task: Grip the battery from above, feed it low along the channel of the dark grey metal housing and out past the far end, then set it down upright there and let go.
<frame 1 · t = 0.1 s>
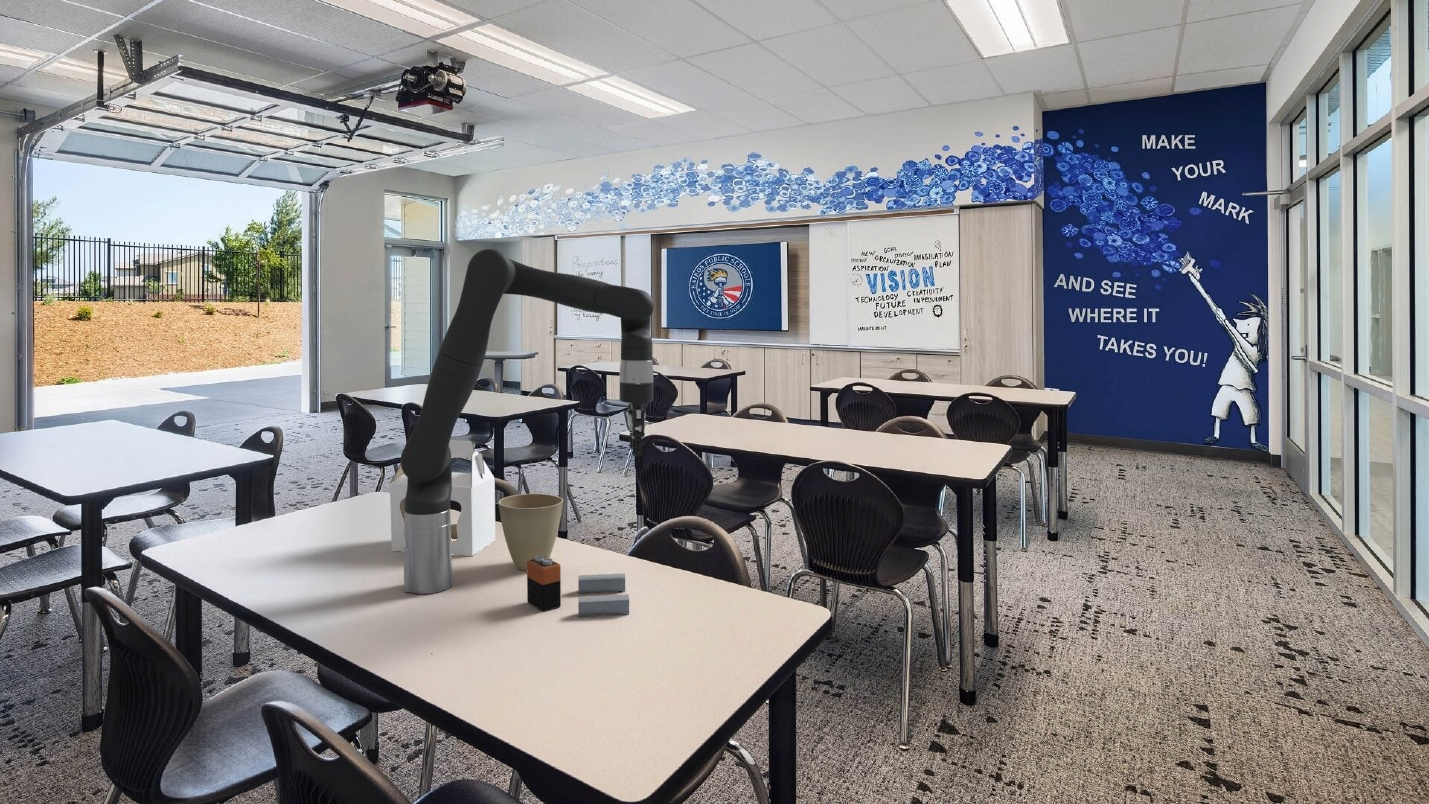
hand: (636, 452, 170), 29 cm above the table, tool pointing down, fingers open, 8 cm apart
housing: (602, 601, 157), on the table
plant pot: (531, 566, 180), on the table
battery: (543, 606, 155), on the table
gable box: (444, 547, 195), on the table
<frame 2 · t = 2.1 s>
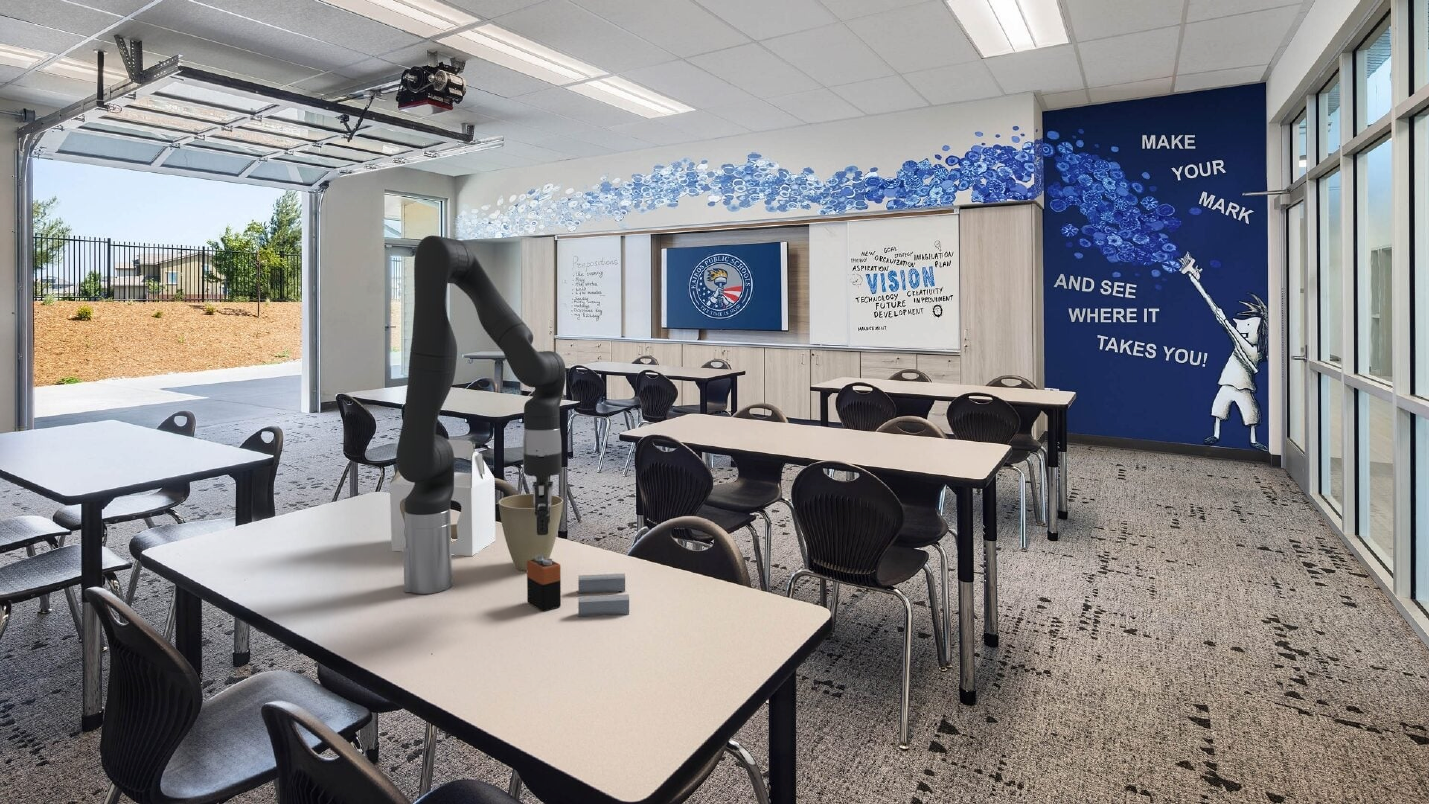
hand: (543, 528, 154), 16 cm above the table, tool pointing down, fingers open, 8 cm apart
nothing on the table moved.
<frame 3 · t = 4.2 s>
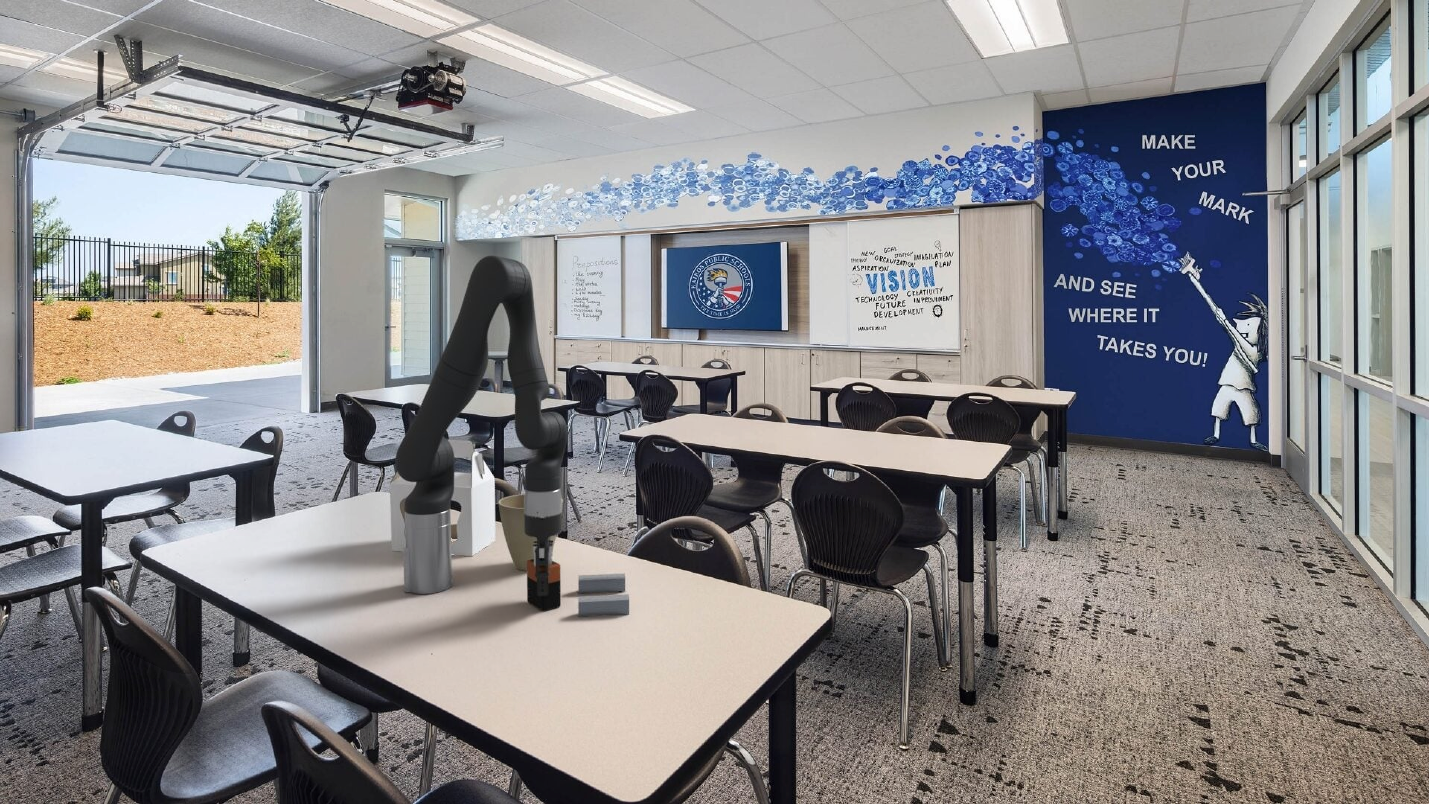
hand: (543, 588, 155), 4 cm above the table, tool pointing down, fingers closed on battery, 8 cm apart
battery: (543, 605, 155), on the table, touching gripper
everything else where it was.
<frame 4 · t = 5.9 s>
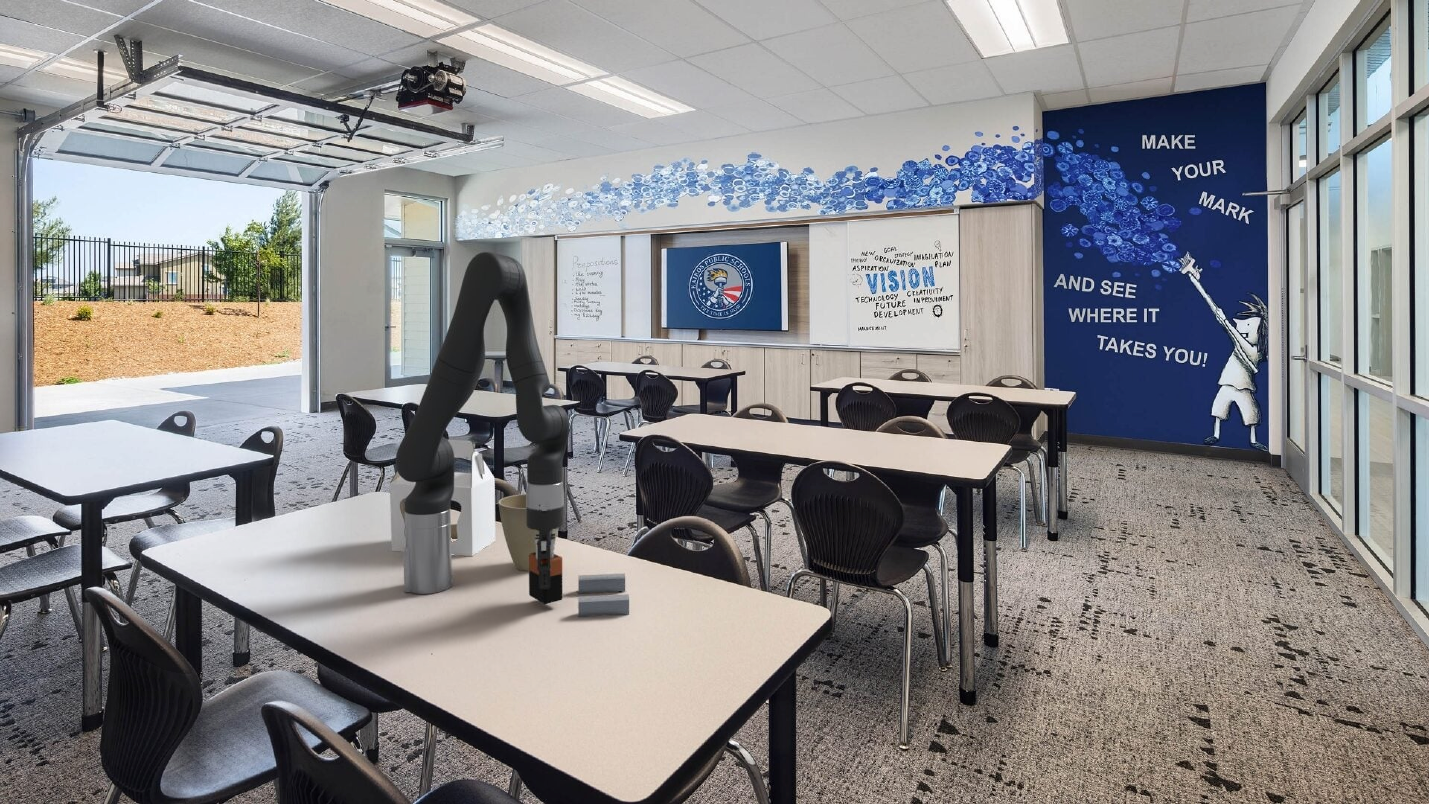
hand: (545, 581, 155), 5 cm above the table, tool pointing down, fingers closed on battery, 8 cm apart
battery: (545, 599, 155), point 1 cm above the table, touching gripper
everything else where it was.
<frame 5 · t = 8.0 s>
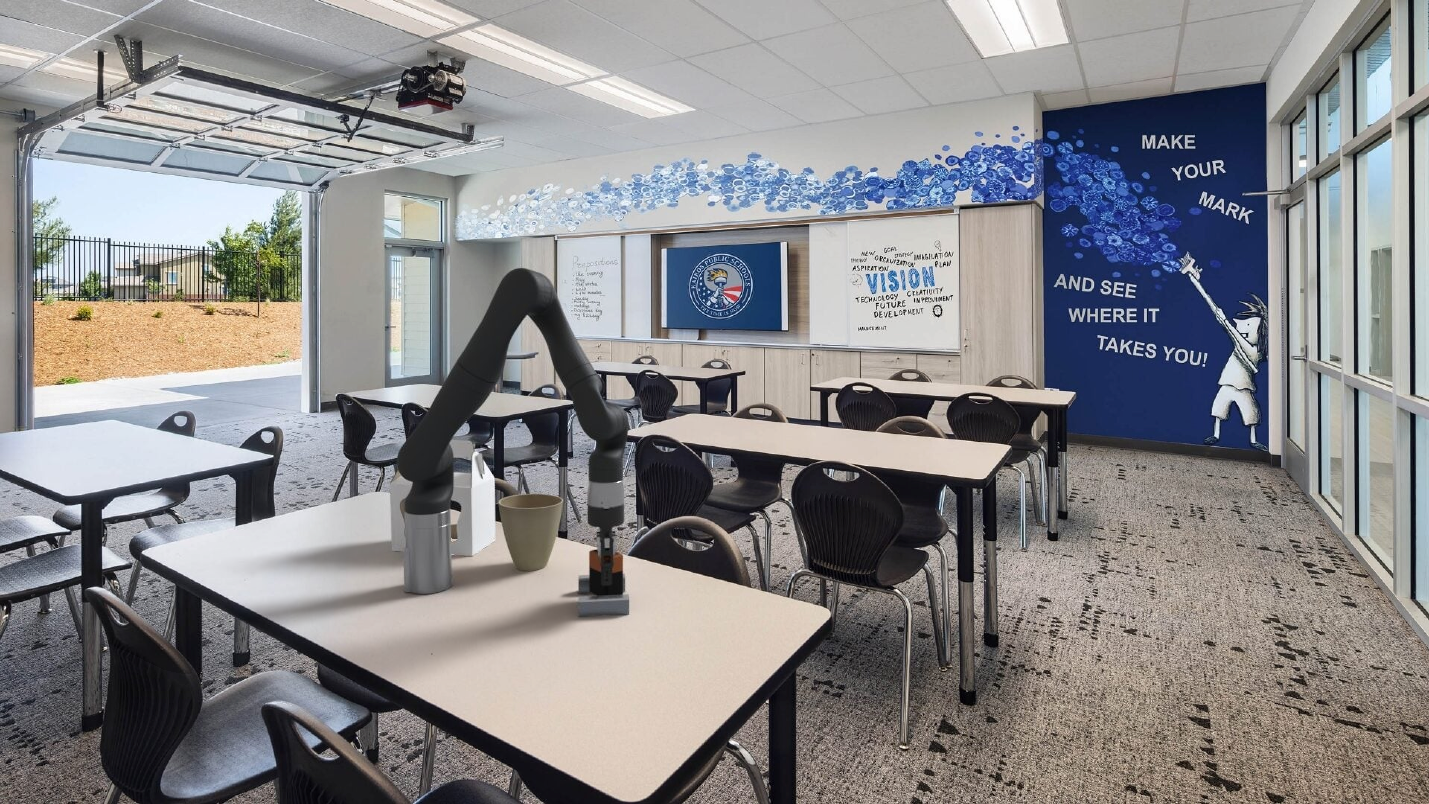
hand: (606, 578, 157), 5 cm above the table, tool pointing down, fingers closed on battery, 8 cm apart
battery: (606, 595, 157), point 1 cm above the table, touching gripper
everything else where it was.
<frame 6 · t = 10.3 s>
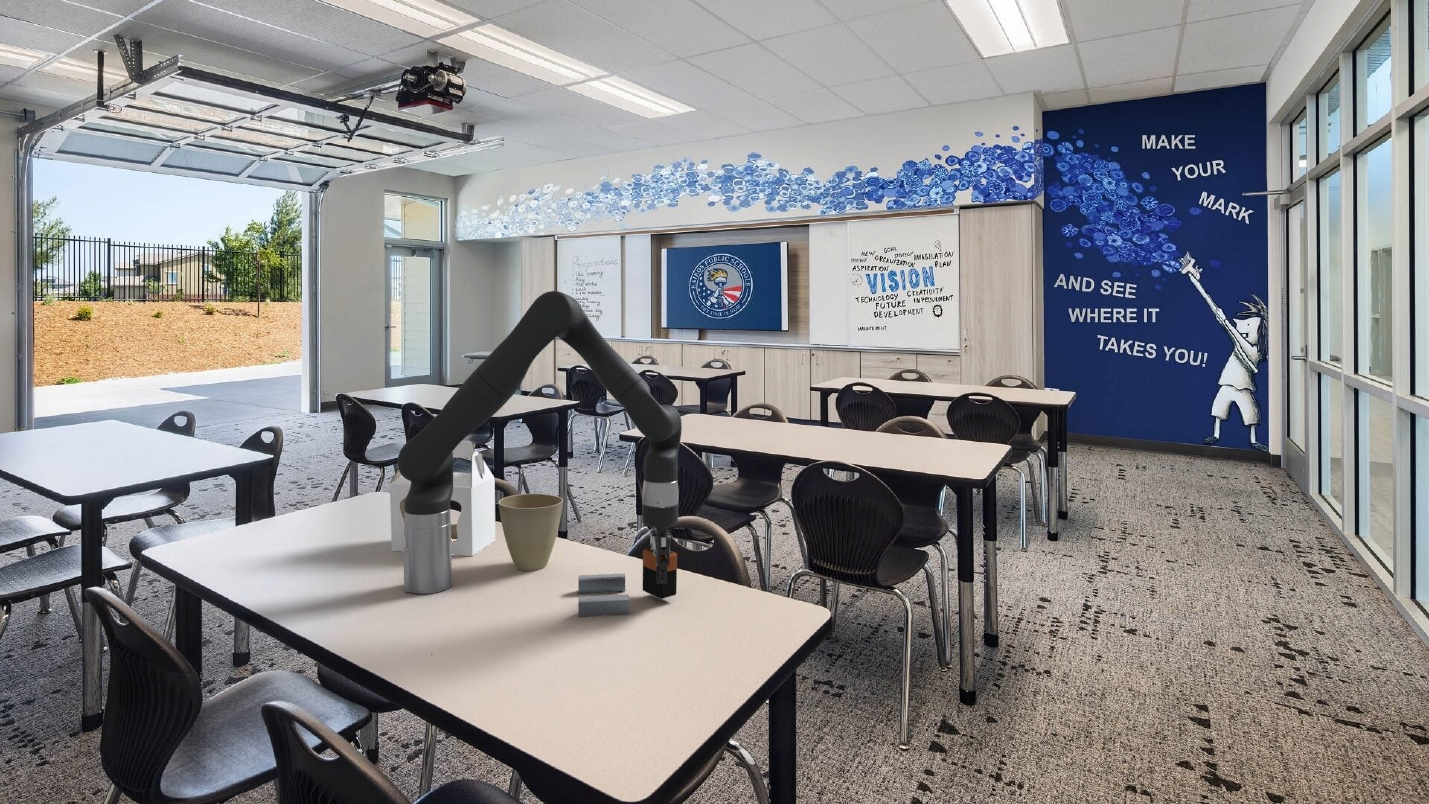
hand: (659, 576, 159), 5 cm above the table, tool pointing down, fingers closed on battery, 8 cm apart
battery: (659, 594, 159), point 1 cm above the table, touching gripper
everything else where it was.
when the fingers open (4 cm above the table, at t = 12.0 s): battery stays where it is, on the table.
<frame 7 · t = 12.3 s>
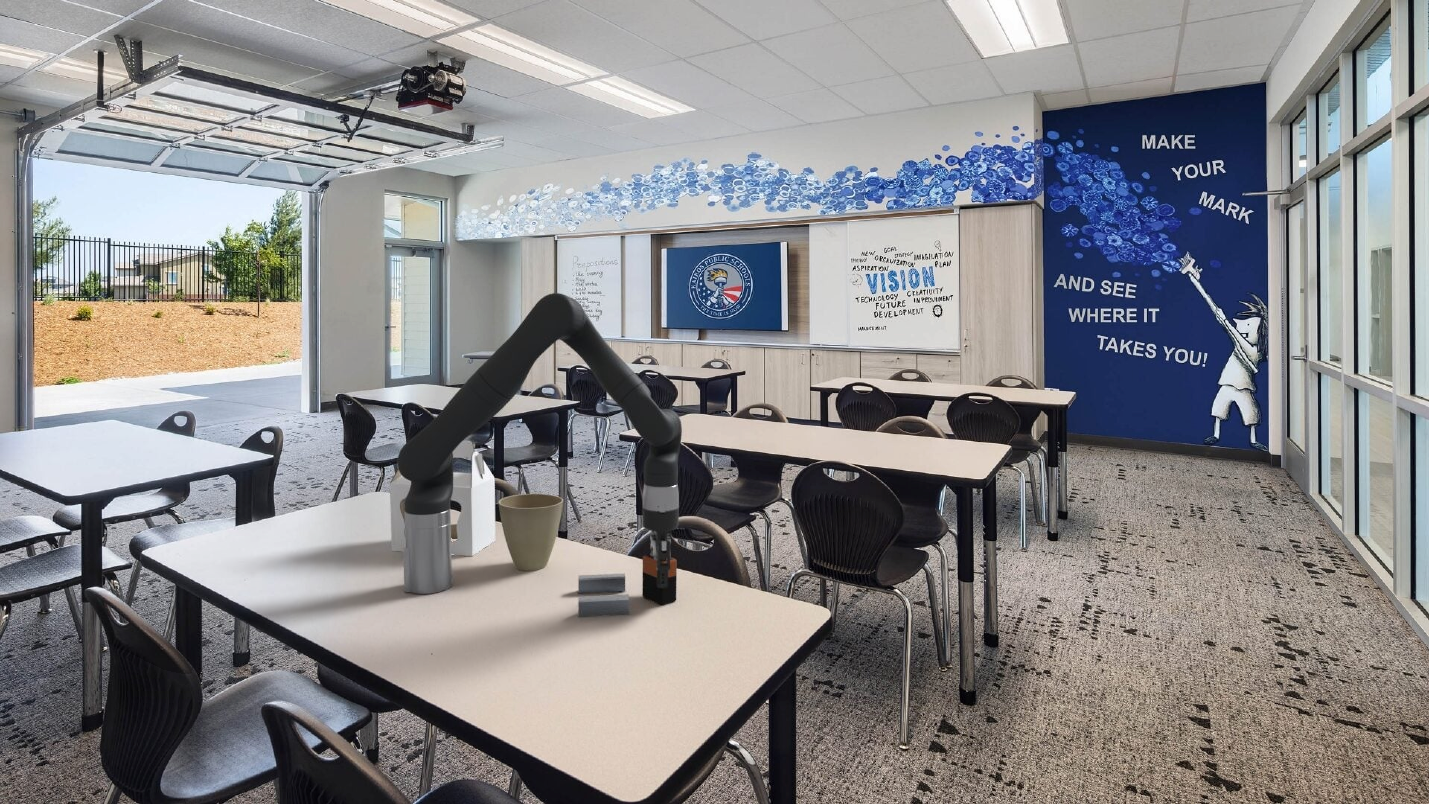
hand: (660, 580, 159), 4 cm above the table, tool pointing down, fingers open, 8 cm apart
battery: (659, 600, 160), on the table
everything else where it was.
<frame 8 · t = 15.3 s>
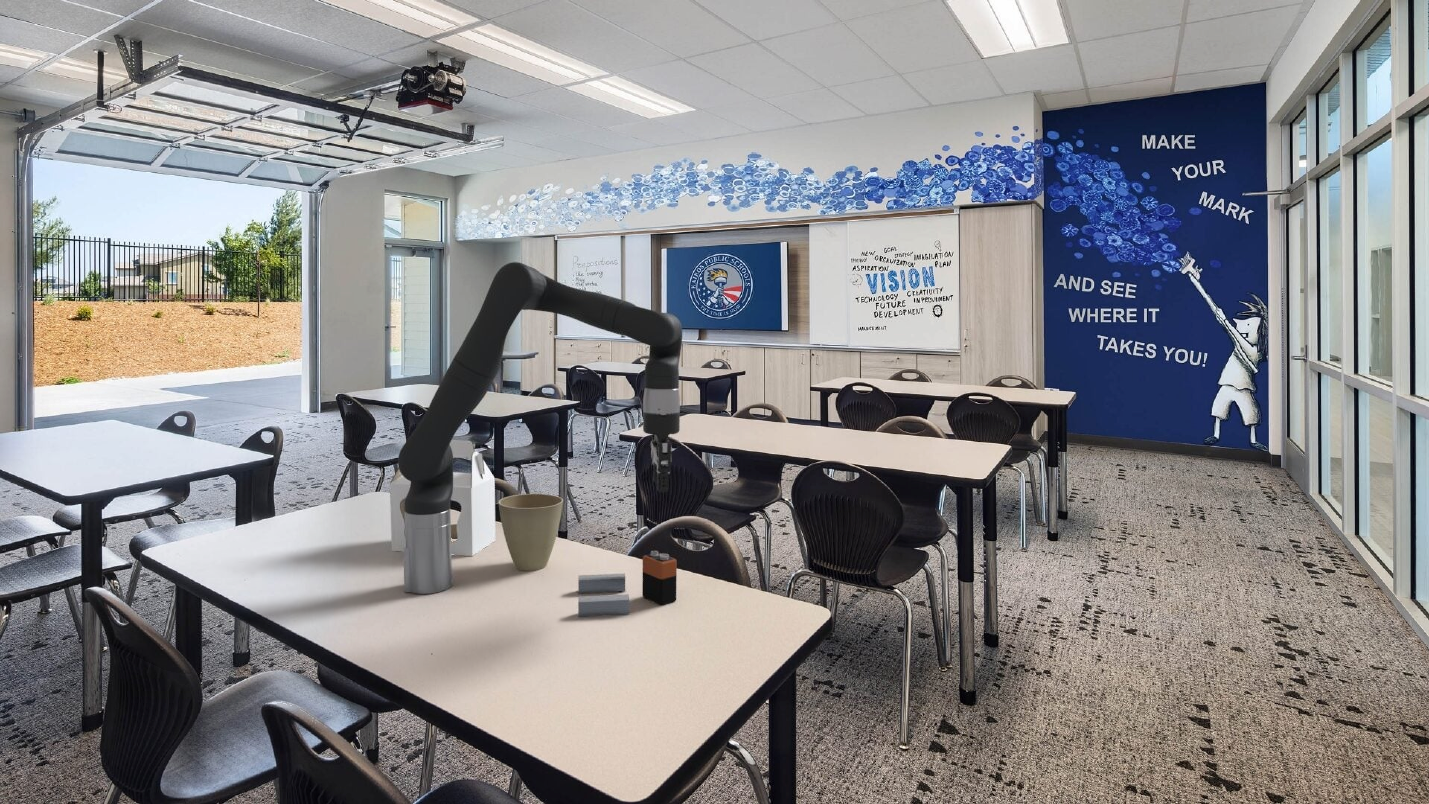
hand: (660, 487, 157), 24 cm above the table, tool pointing down, fingers open, 8 cm apart
nothing on the table moved.
at the end: battery inside the target area (0.2 cm from its centre), on the table; battery tilted 0°; the gripper is holding nothing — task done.
